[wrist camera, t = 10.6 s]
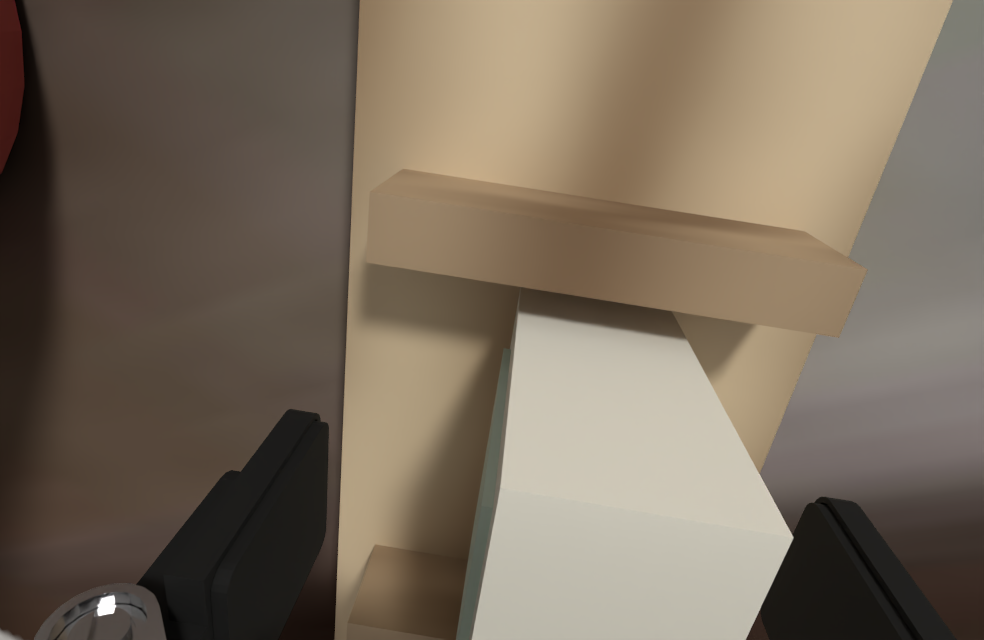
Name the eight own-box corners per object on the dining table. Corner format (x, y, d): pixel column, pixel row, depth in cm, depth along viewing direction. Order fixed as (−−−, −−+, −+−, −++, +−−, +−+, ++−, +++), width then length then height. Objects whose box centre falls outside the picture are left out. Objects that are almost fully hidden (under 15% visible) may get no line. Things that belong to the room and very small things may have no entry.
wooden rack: (1022, -354, 9) (1388, -679, 5) (611, 756, 21) (627, 915, 17) (413, -436, 9) (317, -810, 5) (347, 710, 22) (302, 856, 18)
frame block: (670, 309, 12) (792, 538, 6) (598, 554, 15) (635, 872, 9) (514, 283, 12) (486, 485, 6) (471, 532, 15) (425, 834, 9)
